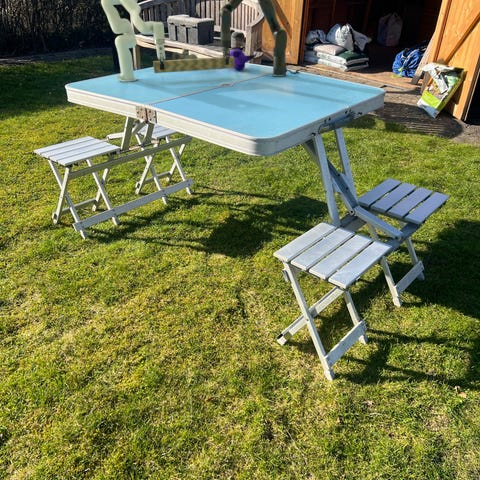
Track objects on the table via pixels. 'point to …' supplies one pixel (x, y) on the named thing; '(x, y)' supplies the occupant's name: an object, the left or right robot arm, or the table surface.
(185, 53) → the teapot
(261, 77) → the table surface
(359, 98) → the table surface
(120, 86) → the table surface
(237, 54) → the toy
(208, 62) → the bar
